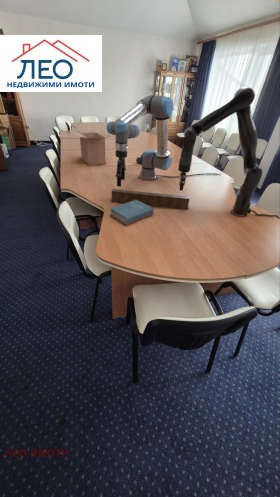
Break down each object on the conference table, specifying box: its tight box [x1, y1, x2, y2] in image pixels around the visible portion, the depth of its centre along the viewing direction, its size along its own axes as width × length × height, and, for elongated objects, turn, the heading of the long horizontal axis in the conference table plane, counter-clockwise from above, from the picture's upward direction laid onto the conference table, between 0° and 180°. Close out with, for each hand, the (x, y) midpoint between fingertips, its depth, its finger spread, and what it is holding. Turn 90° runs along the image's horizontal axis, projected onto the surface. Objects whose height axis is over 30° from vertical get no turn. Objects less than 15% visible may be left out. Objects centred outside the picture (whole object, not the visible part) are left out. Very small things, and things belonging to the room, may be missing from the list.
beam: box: [111, 188, 190, 210], centre depth 157 cm, size 54×4×8 cm, turn 84°
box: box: [70, 129, 114, 166], centre depth 229 cm, size 44×36×27 cm
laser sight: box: [135, 154, 143, 165], centre depth 237 cm, size 10×22×10 cm, turn 78°
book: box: [109, 200, 154, 226], centre depth 142 cm, size 23×16×5 cm
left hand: (120, 182), depth 153 cm, fingers open, 13 cm apart
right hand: (180, 187), depth 150 cm, fingers open, 8 cm apart
